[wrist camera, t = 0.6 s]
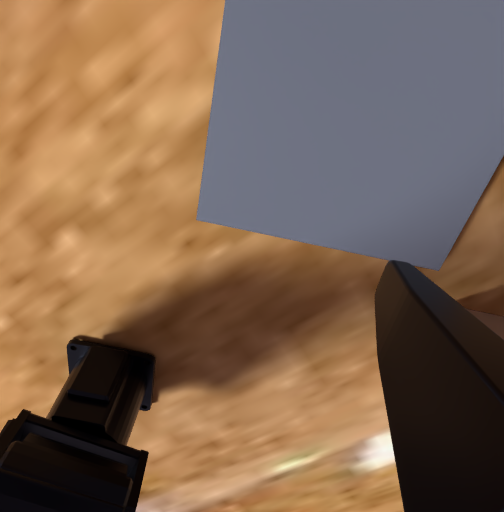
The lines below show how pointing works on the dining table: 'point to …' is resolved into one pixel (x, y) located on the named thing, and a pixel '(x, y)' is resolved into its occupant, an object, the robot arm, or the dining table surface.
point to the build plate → (356, 122)
